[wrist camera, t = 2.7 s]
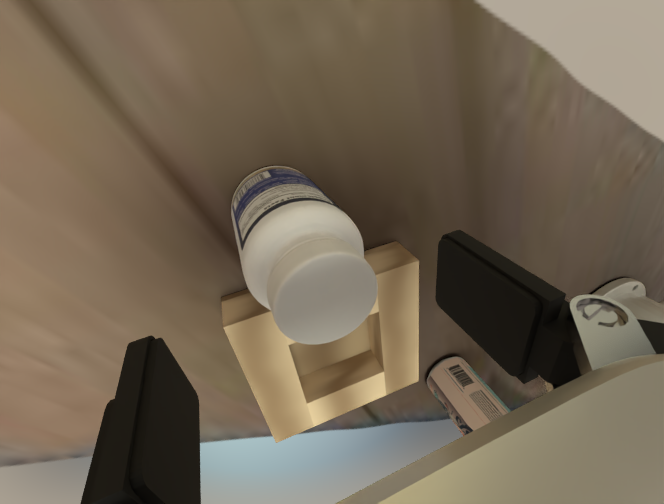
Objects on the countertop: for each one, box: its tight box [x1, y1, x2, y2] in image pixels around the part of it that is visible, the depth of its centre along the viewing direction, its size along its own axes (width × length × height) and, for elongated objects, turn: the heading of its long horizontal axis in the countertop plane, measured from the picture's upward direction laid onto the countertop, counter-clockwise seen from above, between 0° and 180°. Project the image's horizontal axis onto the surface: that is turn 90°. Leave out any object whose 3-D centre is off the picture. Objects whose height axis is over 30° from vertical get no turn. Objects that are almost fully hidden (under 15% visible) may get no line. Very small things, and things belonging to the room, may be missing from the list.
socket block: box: [221, 241, 419, 443], centre depth 24 cm, size 13×13×3 cm
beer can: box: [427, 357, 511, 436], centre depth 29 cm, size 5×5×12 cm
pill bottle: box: [231, 166, 378, 344], centre depth 15 cm, size 5×5×10 cm
